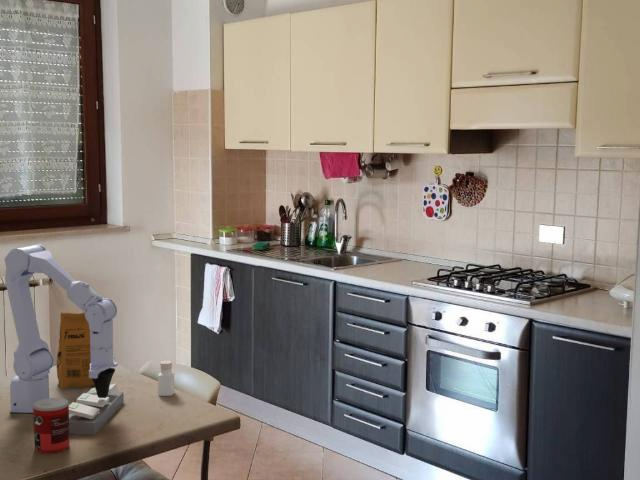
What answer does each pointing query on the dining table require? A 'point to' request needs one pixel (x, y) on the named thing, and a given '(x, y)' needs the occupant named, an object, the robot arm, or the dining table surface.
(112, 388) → the rocker
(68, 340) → the coffee package
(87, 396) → the rocker
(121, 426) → the dining table surface
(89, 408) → the rocker
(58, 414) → the canned food
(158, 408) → the dining table surface
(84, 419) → the switch strip
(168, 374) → the pepper shaker
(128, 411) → the dining table surface
